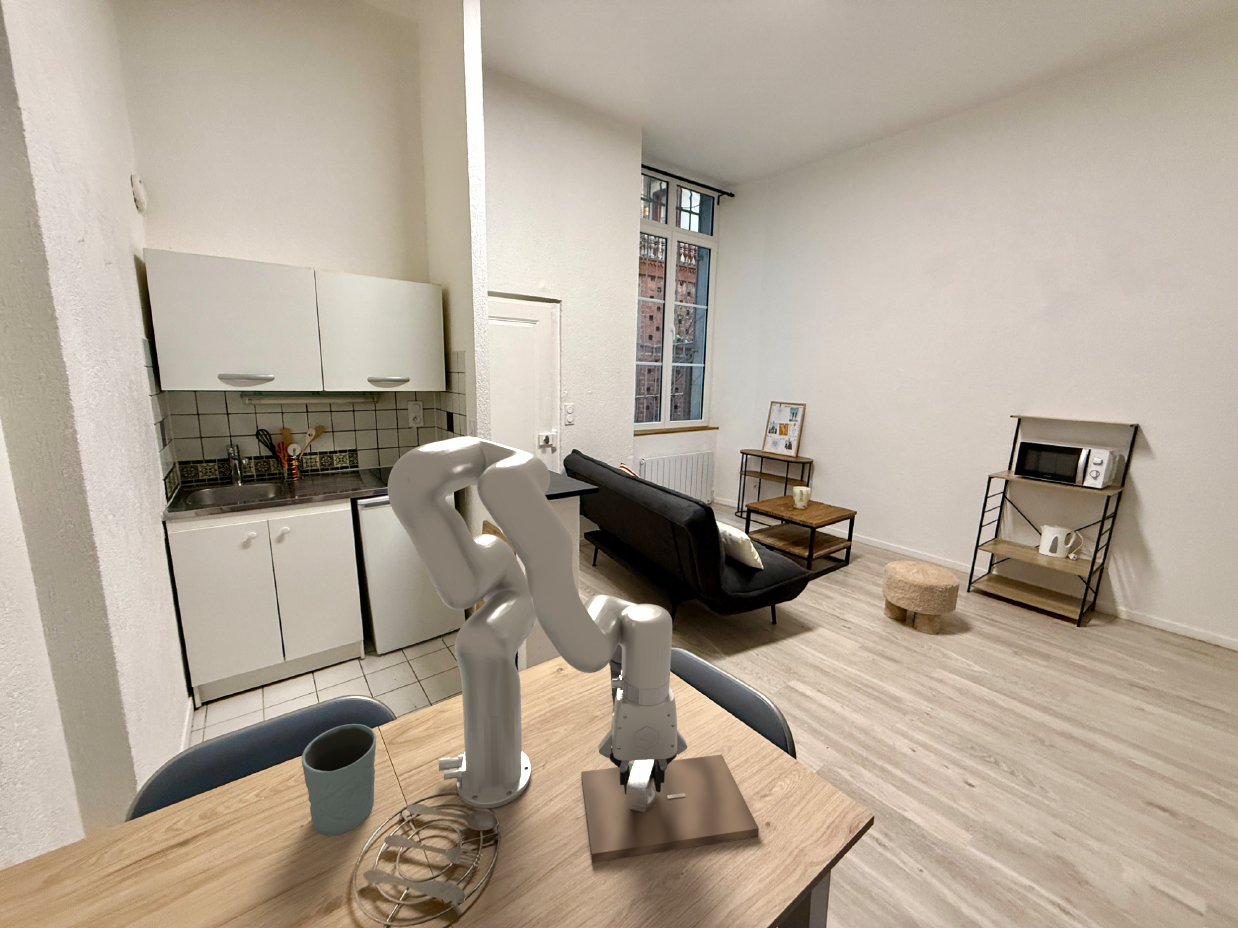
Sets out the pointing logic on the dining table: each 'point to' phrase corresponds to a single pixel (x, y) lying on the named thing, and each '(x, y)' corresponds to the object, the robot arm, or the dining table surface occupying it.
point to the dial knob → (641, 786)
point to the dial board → (666, 810)
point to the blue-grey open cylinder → (340, 777)
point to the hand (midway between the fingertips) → (641, 784)
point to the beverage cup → (616, 668)
